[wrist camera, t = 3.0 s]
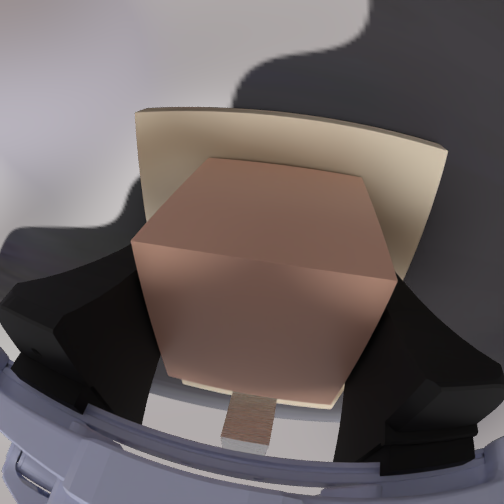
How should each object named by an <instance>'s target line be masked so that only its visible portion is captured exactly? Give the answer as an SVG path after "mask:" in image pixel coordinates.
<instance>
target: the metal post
mask: <svg viewBox="0 0 504 504" xmlns="http://www.w3.org/2000/svg"><path fill="white" fill-rule="evenodd" d="M276 402H277V399H275V398H269V397H262V396H256V395H251V394H245V393H240V392H235V391H233V392H232V396H231V400H230V404H229V407H228V411H227V415H226V419H225V423H224V426H223V430H222V434H221V441H222V448H225V449H229V450H234V451H240V452H245V453H251V454H257V455H263V456H265V454H266V451H267V449H268V446H269V442H270V437H271V430H272V425H273V420H274V414H275V408H276Z"/></svg>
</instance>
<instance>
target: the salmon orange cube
mask: <svg viewBox="0 0 504 504" xmlns="http://www.w3.org/2000/svg"><path fill="white" fill-rule="evenodd" d="M131 245H132V249H133V254H134V258H135V263H136V267H137V271H138V275H139V279H140V283H141V287H142V291H143V295H144V299H145V303H146V306H147V310H148V313H149V317H150V320H151V324H152V327H153V330H154V334H155V337H156V340H157V343H158V347H159V350H160V353H161V356H162V359H163V362H164V365H165V368H166V371H167V373H168V376H171V377H175V378H178V379H182V380H186V381H190V382H194V383H198V384H202V385H207V386H211V387H215V388H220V389H225V390H230V391H235V392H240V393H245V394H251V395H256V396H262V397H269V398H275V399H282V400H289V401H297V402H306V403H315V404H326V405H331V404H332V402H333V401H334V399H335V398H336V396H337V394H338V393H339V391H340V390H341V388H342V386H343V385H344V383H345V381H346V380H347V378H348V376H349V375H350V373H351V371H352V370H353V368H354V366H355V365H356V363H357V361H358V359H359V357H360V356H361V354H362V352H363V350H364V348H365V347H366V345H367V343H368V341H369V339H370V337H371V335H372V334H373V332H374V330H375V328H376V326H377V324H378V322H379V320H380V318H381V316H382V314H383V312H384V310H385V308H386V305H387V303H388V301H389V299H390V297H391V295H392V293H393V290H394V288H395V286H396V284H397V281H398V280H397V277H396V273H395V270H394V267H393V263H392V260H391V257H390V254H389V251H388V247H387V244H386V241H385V238H384V235H383V232H382V229H381V227H380V224H379V221H378V218H377V215H376V213H375V210H374V207H373V205H372V202H371V199H370V197H369V194H368V192H367V189H366V187H365V184H364V182H363V179H362V178H361V177H356V176H351V175H345V174H339V173H333V172H327V171H321V170H314V169H308V168H301V167H293V166H286V165H278V164H270V163H261V162H251V161H241V160H230V159H218V158H208V159H207V160H206V161H205V162H204V163H203V164H202V165H201V166H200V167H199V168H198V169H197V170H196V171H195V172H194V173H193V174H192V175H191V176H190V177H189V178H188V179H187V180H186V181H185V182H184V183H183V184H182V185H181V186H180V187H179V188H178V189H177V190H176V191H175V192H174V193H173V194H172V195H171V196H170V197H169V199H168V200H167V201H166V202H165V203H164V204H163V205H162V206H161V207H160V208H159V209H158V210H157V212H156V213H155V214H154V215H153V216H152V217H151V218H150V219H149V220H148V221H147V223H146V224H145V225H144V226H143V227H142V228H141V229H140V231H139V232H138V233H137V234H136V235H135V236H134V237H133V239H132V240H131Z"/></svg>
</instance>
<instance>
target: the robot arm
mask: <svg viewBox="0 0 504 504" xmlns="http://www.w3.org/2000/svg"><path fill="white" fill-rule="evenodd" d="M395 273H396V272H395ZM396 277H397V280H398V281H397V284H396V286H395V288H394V290H393V293H392V295H391V297H390V299H389V301H388V303H387V305H386V308H385V310H384V312H383V314H382V316H381V318H380V320H379V322H378V324H377V326H376V328H375V330H374V332H373V334H372V335H371V337H370V339H369V341H368V343H367V345H366V347H365V348H364V350H363V352H362V354H361V356H360V357H359V359H358V361H357V363H356V365H355V366H354V368H353V370H352V371H351V373H350V375H349V376H348V378H347V380H346V381H345V384H344V396H343V405H342V413H341V421H340V428H339V434H338V440H337V445H336V450H335V455H334V460H333V462H320V461H305V460H295V459H286V458H277V457H269V456H263V455H257V454H251V453H245V452H240V451H234V450H229V449H225V448H220V447H215V446H211V445H207V444H203V443H198V442H195V441H191V440H188V439H184V438H181V437H177V436H174V435H170V434H167V433H164V432H161V431H158V430H155V429H152V428H149V427H146V426H143V425H142V421H143V416H144V411H145V407H146V403H147V398H148V395H149V391H150V388H151V384H152V380H153V377H154V373H155V370H156V367H157V364H158V361H159V358H160V355H161V353H160V350H159V347H158V343H157V340H156V337H155V334H154V330H153V327H152V324H151V320H150V317H149V313H148V310H147V306H146V303H145V299H144V295H143V291H142V287H141V283H140V279H139V275H138V271H137V267H136V263H135V258H134V254H133V249H132V245H131V244H130V245H128V246H127V247H125V248H123V249H121V250H119V251H117V252H115V253H113V254H110V255H108V256H106V257H104V258H102V259H99V260H97V261H94V262H92V263H89V264H86V265H84V266H81V267H79V268H76V269H73V270H70V271H67V272H64V273H60V274H57V275H53V276H50V277H46V278H41V279H37V280H32V281H27V282H22V283H17V284H16V285H15V286H14V287H13V288H12V290H11V291H10V292H9V293H8V294H7V295H6V297H5V298H4V299H3V300H2V301H1V302H0V323H1V325H2V326H3V328H4V330H5V331H6V333H7V334H8V335H9V337H10V338H11V340H12V341H13V342H14V344H15V345H16V346H17V348H18V349H19V350H20V352H21V353H20V354H19V356H18V357H17V359H16V361H15V362H13V361H11V360H10V359H9V357H8V356H7V354H6V353H5V352H4V350H3V349H2V348H1V347H0V432H1V433H3V435H4V436H6V437H7V438H8V439H9V440H10V441H11V442H12V443H11V446H10V448H9V450H8V453H7V456H6V461H5V464H4V466H3V468H2V473H3V476H2V478H3V480H4V482H5V484H6V486H7V488H8V489H9V491H10V493H11V494H12V496H13V498H14V499H15V501H16V502H17V504H504V436H503V437H500V438H498V439H496V440H494V441H492V442H491V443H490V444H488V445H487V446H485V448H482V449H477V450H474V442H473V437H474V436H476V435H477V433H478V428H477V423H478V422H480V421H481V420H482V419H483V418H485V417H486V416H487V415H489V414H490V413H491V412H492V411H493V410H495V409H496V408H497V407H498V406H499V405H500V404H501V403H502V402H503V400H504V374H503V370H502V367H501V365H500V364H499V363H497V362H496V361H494V360H492V359H491V358H489V357H488V356H486V355H485V354H483V353H482V352H480V351H478V350H477V349H476V348H474V347H473V346H472V345H470V344H469V343H468V342H466V341H465V340H463V339H462V338H461V337H460V336H458V335H457V334H456V333H455V332H453V331H452V330H451V329H450V328H449V327H448V326H446V325H445V324H444V323H443V322H442V321H441V320H440V319H439V318H437V317H436V316H435V315H434V314H433V313H432V312H431V311H430V310H429V309H428V308H427V307H426V306H425V305H424V304H423V303H422V302H421V301H420V300H419V299H418V298H417V296H416V295H415V294H414V293H413V292H412V291H411V290H410V288H409V287H408V286H407V285H406V284H405V283H404V282H403V280H402V279H401V278H400V277H399V275H398V274H397V273H396ZM113 440H114V441H117V442H119V443H121V444H124V445H126V446H129V447H131V448H134V449H136V450H139V451H142V452H145V453H147V454H150V455H153V456H156V457H159V458H162V459H165V460H168V461H171V462H174V463H178V464H181V465H185V466H188V467H192V468H195V469H199V470H203V471H207V472H212V473H216V474H221V475H225V476H230V477H235V478H240V479H246V480H252V481H258V482H265V483H272V484H281V485H292V486H303V487H321V488H324V489H323V490H322V491H321V494H319V495H315V496H311V495H302V494H294V493H287V492H283V491H277V490H271V489H264V488H259V487H254V486H248V485H243V484H237V483H232V482H227V481H222V480H217V479H213V478H209V477H204V476H201V475H197V474H193V473H190V472H186V471H182V470H179V469H175V468H172V467H169V466H166V465H163V464H160V463H157V462H154V461H151V460H148V459H146V458H143V457H140V456H138V455H135V454H132V453H130V452H127V451H125V450H123V448H122V447H121V445H120V444H118V443H116V442H114V441H113ZM17 462H18V464H17ZM21 474H22V475H23V476H25V477H27V478H28V479H30V480H31V481H33V482H34V483H36V484H38V485H39V486H41V487H43V488H44V489H46V490H48V491H50V492H51V494H49V493H48V492H46V491H44V490H42V489H41V488H39V487H37V486H35V485H34V484H33V483H31V482H29V481H28V480H27V479H25V478H24V477H23V476H22V475H21Z"/></svg>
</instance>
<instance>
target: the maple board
mask: <svg viewBox="0 0 504 504" xmlns="http://www.w3.org/2000/svg"><path fill="white" fill-rule="evenodd" d="M135 123H136V136H137V148H138V159H139V168H140V177H141V185H142V193H143V201H144V208H145V215H146V221H148V220H149V219H150V218H151V217H152V216H153V215H154V214H155V213H156V212H157V210H158V209H159V208H160V207H161V206H162V205H163V204H164V203H165V202H166V201H167V200H168V199H169V197H170V196H171V195H172V194H173V193H174V192H175V191H176V190H177V189H178V188H179V187H180V186H181V185H182V184H183V183H184V182H185V181H186V180H187V179H188V178H189V177H190V176H191V175H192V174H193V173H194V172H195V171H196V170H197V169H198V168H199V167H200V166H201V165H202V164H203V163H204V162H205V161H206V160H207V159H208V158H218V159H230V160H241V161H251V162H261V163H270V164H278V165H286V166H293V167H301V168H308V169H314V170H321V171H327V172H333V173H339V174H345V175H351V176H356V177H361V178H362V179H363V182H364V184H365V187H366V189H367V192H368V194H369V197H370V199H371V202H372V205H373V207H374V210H375V213H376V215H377V218H378V221H379V224H380V227H381V229H382V232H383V235H384V238H385V241H386V244H387V247H388V251H389V254H390V257H391V260H392V263H393V267H394V270H395V272H396V273H397V274H398V275H399V277H400V278H401V279H402V280H403V279H404V277H405V275H406V272H407V270H408V268H409V265H410V263H411V261H412V258H413V256H414V253H415V251H416V248H417V246H418V243H419V241H420V238H421V235H422V233H423V230H424V227H425V225H426V222H427V219H428V216H429V213H430V211H431V208H432V205H433V202H434V198H435V195H436V192H437V189H438V186H439V182H440V179H441V176H442V172H443V169H444V165H445V161H446V157H447V154H448V151H447V150H446V149H445V148H443V147H442V146H441V145H439V144H437V143H434V142H431V141H427V140H424V139H420V138H417V137H413V136H409V135H406V134H402V133H398V132H394V131H390V130H385V129H381V128H377V127H372V126H367V125H363V124H358V123H353V122H347V121H342V120H336V119H330V118H324V117H317V116H310V115H303V114H295V113H287V112H277V111H267V110H255V109H240V108H218V107H163V108H162V107H161V108H146V109H143V110H140V111H138V112H135ZM182 382H183V384H186V385H189V386H193V387H197V388H202V389H206V390H210V391H215V392H219V393H224V394H229V395H232V392H233V391H230V390H225V389H220V388H215V387H211V386H207V385H202V384H198V383H194V382H190V381H186V380H182ZM344 384H345V383H344ZM343 390H344V385H343V386H342V388H341V390H340V391H339V393H338V394H337V396H336V398H335V399H334V401H333V402H332V404H331V405H326V404H315V403H306V402H297V401H289V400H282V399H277V402H276V403H280V404H288V405H295V406H304V407H313V408H323V409H331V408H332V407H333V405H334V404H335V402H336V401H337V399H338V398H339V396H340V395H341V393H342V392H343Z"/></svg>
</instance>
